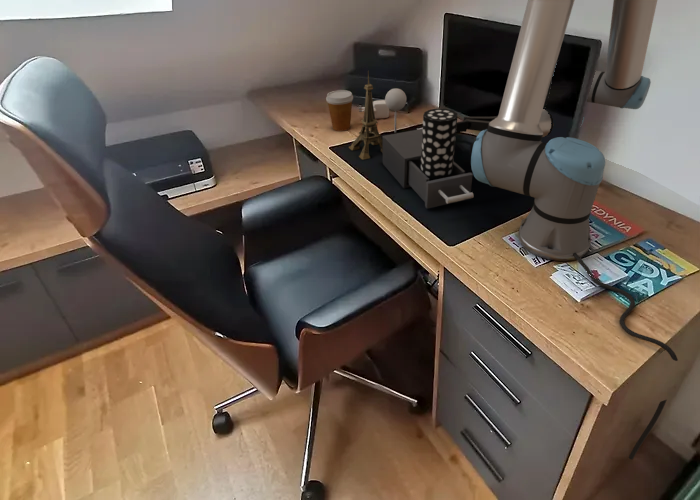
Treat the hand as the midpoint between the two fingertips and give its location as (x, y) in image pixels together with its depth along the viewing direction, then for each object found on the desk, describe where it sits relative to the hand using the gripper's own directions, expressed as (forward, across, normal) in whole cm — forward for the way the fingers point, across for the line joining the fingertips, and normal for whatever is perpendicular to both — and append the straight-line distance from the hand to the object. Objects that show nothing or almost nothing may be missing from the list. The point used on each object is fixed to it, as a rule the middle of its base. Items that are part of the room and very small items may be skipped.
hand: (456, 139), depth 119 cm
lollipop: (-1, +43, -15) cm, 45 cm away
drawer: (+5, -3, -14) cm, 15 cm away
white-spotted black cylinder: (+5, 0, -13) cm, 14 cm away
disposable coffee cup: (+15, +55, -15) cm, 59 cm away
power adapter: (+1, +59, -15) cm, 61 cm away
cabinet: (+5, +14, -15) cm, 21 cm away
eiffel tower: (+12, +33, -15) cm, 38 cm away
